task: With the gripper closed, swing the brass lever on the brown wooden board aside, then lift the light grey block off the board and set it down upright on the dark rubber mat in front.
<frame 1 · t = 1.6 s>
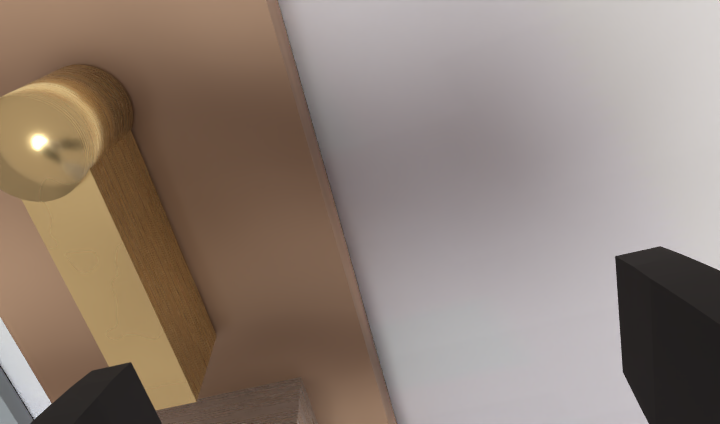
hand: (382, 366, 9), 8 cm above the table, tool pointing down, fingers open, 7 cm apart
lever: (115, 245, 13), point 4 cm above the table, hinge at 0.0°
brown wooden board: (222, 338, 19), on the table
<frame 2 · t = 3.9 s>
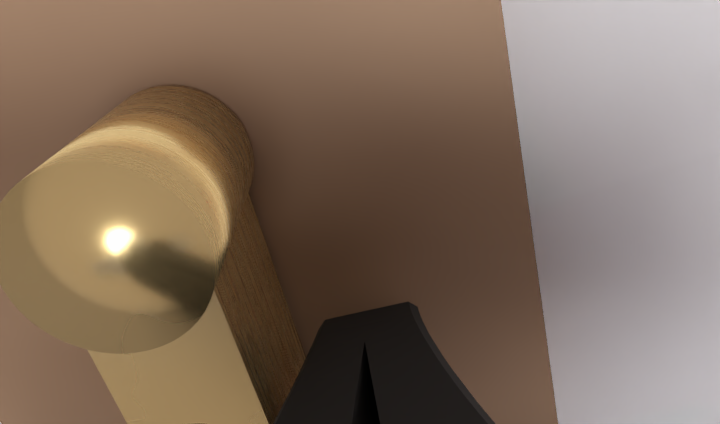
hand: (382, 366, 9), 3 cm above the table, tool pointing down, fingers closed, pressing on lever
lever: (228, 388, 8), point 4 cm above the table, hinge at 0.0°, touching gripper
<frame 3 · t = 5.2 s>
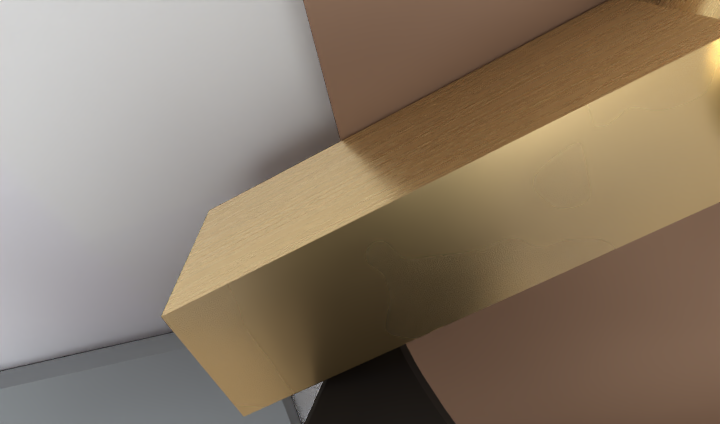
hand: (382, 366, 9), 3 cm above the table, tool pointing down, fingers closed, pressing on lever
lever: (510, 167, 7), point 4 cm above the table, hinge at 75.5°, touching gripper
brown wooden board: (636, 394, 13), on the table
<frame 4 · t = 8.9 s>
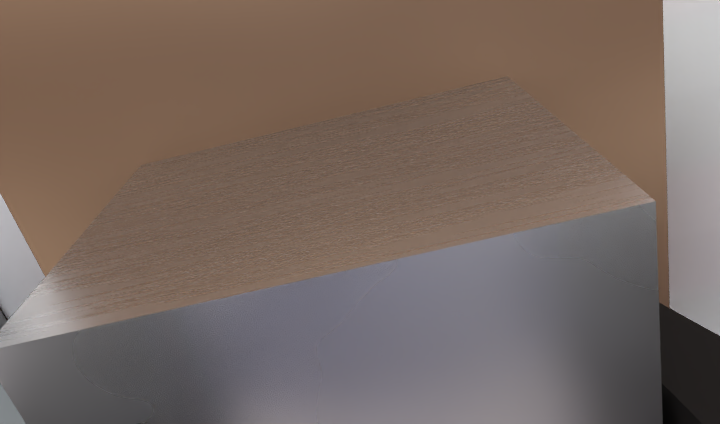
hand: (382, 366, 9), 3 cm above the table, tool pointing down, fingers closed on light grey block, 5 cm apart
light grey block: (378, 332, 9), point 2 cm above the table, touching gripper, brown wooden board
brown wooden board: (315, 56, 10), on the table
when the fingers open (2 cm above the table, at t = 14.3 s): light grey block drops 1 cm, resting on mat.
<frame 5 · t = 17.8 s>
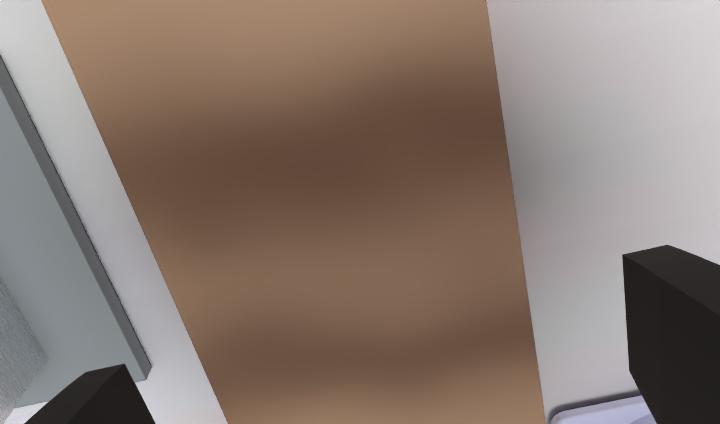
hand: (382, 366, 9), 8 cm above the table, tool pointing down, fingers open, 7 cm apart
brown wooden board: (316, 138, 16), on the table
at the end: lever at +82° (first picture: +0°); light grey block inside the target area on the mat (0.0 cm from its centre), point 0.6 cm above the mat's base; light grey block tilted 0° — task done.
